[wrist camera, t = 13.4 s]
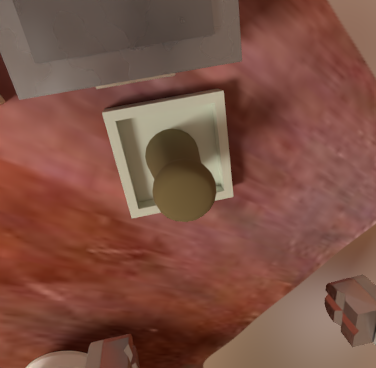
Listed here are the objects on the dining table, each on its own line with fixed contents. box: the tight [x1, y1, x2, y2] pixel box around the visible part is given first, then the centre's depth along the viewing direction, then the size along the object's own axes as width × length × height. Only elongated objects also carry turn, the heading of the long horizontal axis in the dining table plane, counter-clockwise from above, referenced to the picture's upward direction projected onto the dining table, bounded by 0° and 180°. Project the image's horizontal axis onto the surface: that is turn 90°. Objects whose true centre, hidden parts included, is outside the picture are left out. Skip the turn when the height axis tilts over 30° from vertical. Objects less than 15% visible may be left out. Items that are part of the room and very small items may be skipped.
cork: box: [145, 129, 216, 222], centre depth 26 cm, size 6×6×11 cm
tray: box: [102, 89, 233, 218], centre depth 30 cm, size 12×12×2 cm
